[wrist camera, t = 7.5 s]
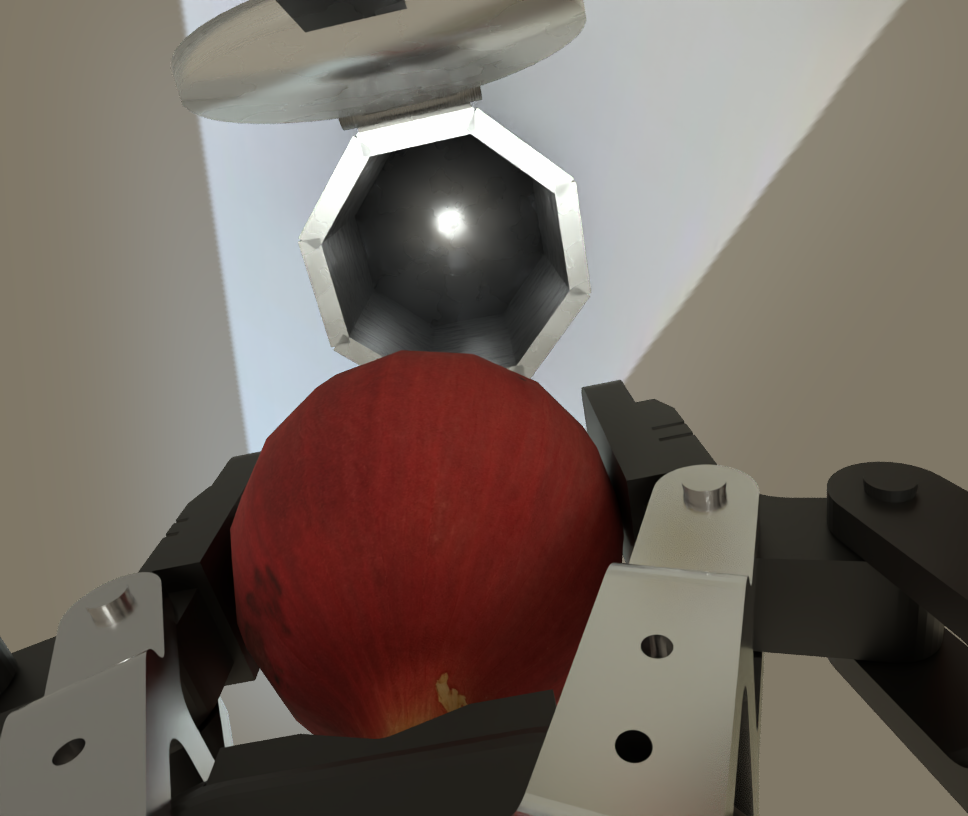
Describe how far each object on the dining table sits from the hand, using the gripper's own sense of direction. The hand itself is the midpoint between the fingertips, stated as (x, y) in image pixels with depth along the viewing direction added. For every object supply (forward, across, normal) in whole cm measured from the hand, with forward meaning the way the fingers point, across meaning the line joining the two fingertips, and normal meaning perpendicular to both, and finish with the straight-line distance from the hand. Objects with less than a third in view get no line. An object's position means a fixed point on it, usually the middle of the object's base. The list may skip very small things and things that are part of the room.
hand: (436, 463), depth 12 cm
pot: (+31, 0, 0) cm, 31 cm away
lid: (+10, 0, -8) cm, 13 cm away
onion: (+1, 0, 0) cm, 1 cm away
